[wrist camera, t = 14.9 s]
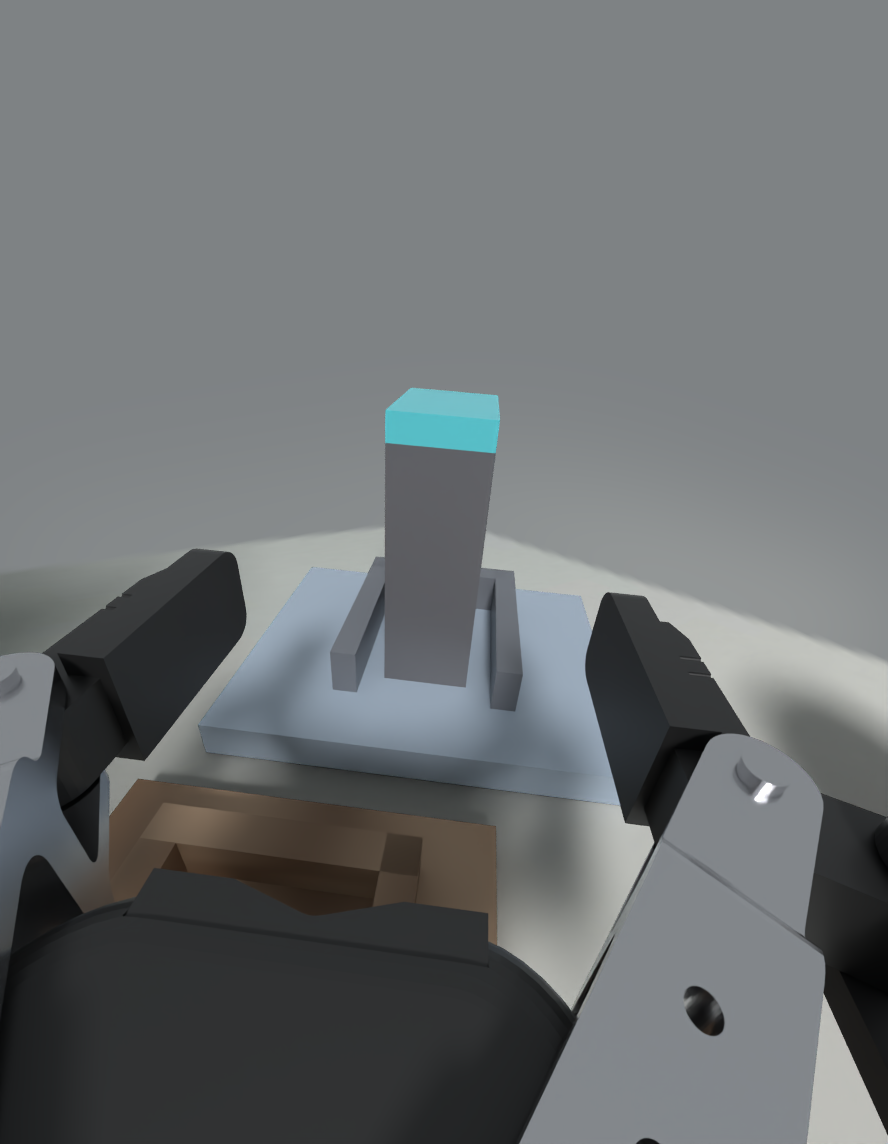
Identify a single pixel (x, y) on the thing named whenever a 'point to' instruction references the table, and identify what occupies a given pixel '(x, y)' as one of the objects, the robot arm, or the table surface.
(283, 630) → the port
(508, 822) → the table surface
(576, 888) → the table surface
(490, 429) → the plug
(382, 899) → the brown base with rails
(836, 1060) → the table surface
